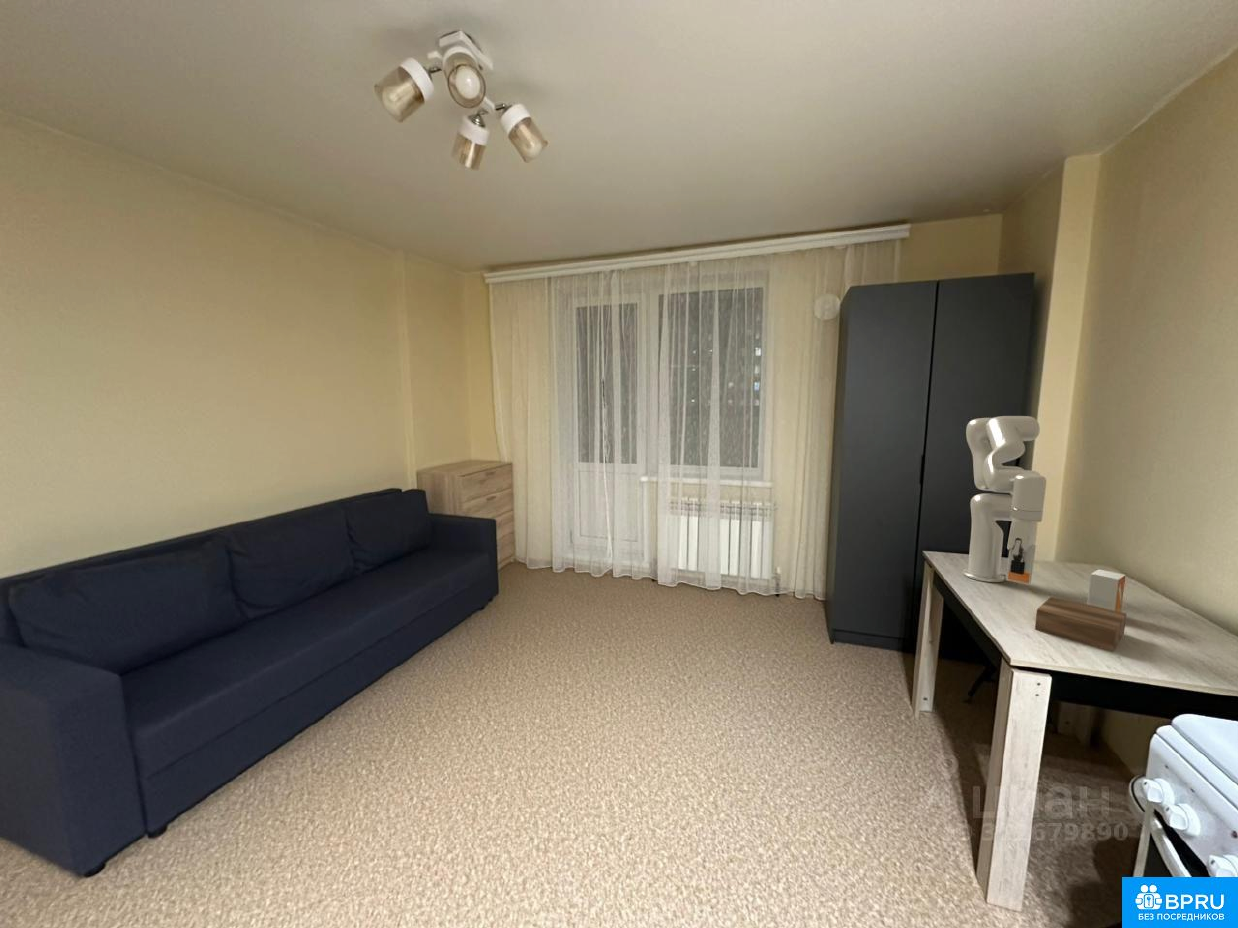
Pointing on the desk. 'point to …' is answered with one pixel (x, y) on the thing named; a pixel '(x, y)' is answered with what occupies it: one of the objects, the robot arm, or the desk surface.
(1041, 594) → the desk surface
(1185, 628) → the desk surface
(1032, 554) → the skincare box
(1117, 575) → the small box
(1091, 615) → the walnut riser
